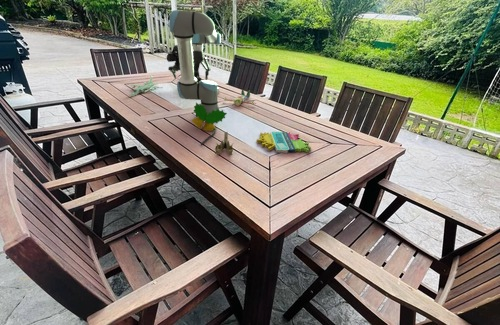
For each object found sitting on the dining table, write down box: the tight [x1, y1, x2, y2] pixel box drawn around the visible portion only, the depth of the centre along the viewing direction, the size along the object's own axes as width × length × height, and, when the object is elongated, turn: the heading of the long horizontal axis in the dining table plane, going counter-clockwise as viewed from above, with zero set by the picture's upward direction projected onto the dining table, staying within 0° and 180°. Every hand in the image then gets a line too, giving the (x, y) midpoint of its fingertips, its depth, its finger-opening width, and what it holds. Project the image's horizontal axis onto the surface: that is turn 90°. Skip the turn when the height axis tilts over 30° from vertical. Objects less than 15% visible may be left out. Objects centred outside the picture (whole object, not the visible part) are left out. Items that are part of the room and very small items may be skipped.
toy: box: [223, 89, 257, 106], centre depth 219 cm, size 28×7×30 cm
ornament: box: [191, 102, 228, 132], centre depth 162 cm, size 21×8×15 cm, turn 105°
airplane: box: [127, 74, 164, 98], centre depth 226 cm, size 38×31×10 cm
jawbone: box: [214, 131, 234, 156], centre depth 136 cm, size 9×15×10 cm
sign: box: [256, 131, 312, 154], centre depth 152 cm, size 26×2×30 cm
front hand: (198, 78), depth 212 cm, fingers open, 13 cm apart
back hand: (179, 79), depth 238 cm, fingers open, 9 cm apart
